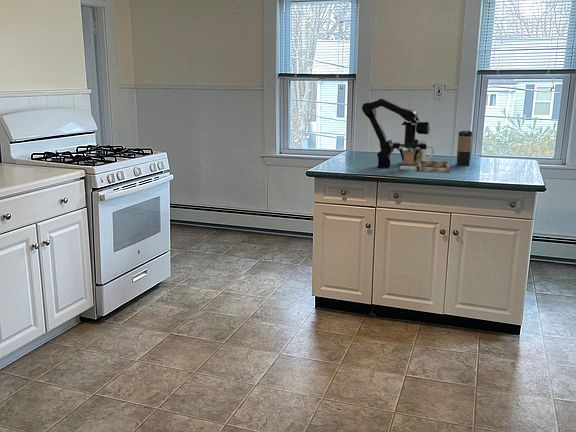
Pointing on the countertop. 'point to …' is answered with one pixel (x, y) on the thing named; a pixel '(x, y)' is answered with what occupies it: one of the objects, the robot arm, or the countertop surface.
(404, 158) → the pot
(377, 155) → the robot arm
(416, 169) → the tile
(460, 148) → the travel mug
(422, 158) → the pitcher
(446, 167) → the wooden tray
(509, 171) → the countertop surface
